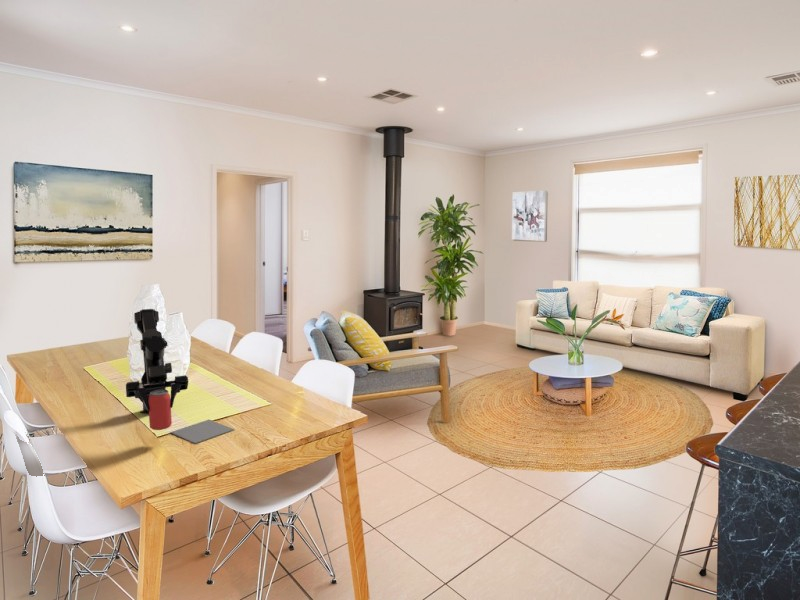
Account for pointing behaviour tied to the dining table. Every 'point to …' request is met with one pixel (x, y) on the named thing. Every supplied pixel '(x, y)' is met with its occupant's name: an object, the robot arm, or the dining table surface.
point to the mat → (202, 431)
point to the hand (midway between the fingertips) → (160, 408)
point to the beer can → (159, 409)
